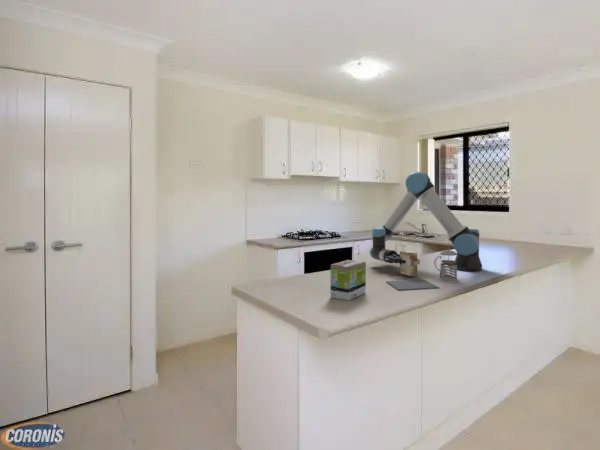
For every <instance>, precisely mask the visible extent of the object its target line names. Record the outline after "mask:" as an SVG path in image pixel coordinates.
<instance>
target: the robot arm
mask: <svg viewBox="0 0 600 450" xmlns="http://www.w3.org/2000/svg"><path fill="white" fill-rule="evenodd" d="M405 187H406V193H405V195H404V196H403V197H402V199H401V200H400V201H399V203H398V204H397V206H396V207H395V209H393V212H392V213H391V214H390V216H389V217H388V219H387V220H386V221H385V223H384V225H383V226H381V227H374V228H372V233H371V234H372V247H371V248H370V250H369V257H371V259H374V260H377V261H381V262H384V263H386V264H387V263H388V264H396V265H397V264H399V266H400V265H402V264H406V265H411V260H408V259H403V258H402V260H401V258H400V253H398V252H396V250H392V249H389V248H386V242H387V241H389V240H391V238H392V237H393V234H394V233H395V231H396V230H397V229H398V227H400V224H402V221H403V220H404V218H406V216H407V215H408V213H409V212H410V210H411V209H412V208H413V206H414V205H415V204H416V202H417V201H418V200H419V201H421V202H422V203H423V204H424V205H425V206H426V208H427V209H428V210H429V212H430V213H431V215H433V217H434V218H435V219H436V221H437V222H438V223H439V224H440V226H441V227H442V228H443V229H444V231H445V232H446V233H447V232H448V231H450V232H451V234H447V235H448V237H447V239H448V241H449V243H451V244H452V245H453V248H454V250H455V252H456V253H457V255H455V259H454V261H456V263H454V264H457V271H463V272H478V271H479V272H480V271H482V270H483V265H482V261H481V258H480V234H481V233H480V230H479V229H478V228H477V229H475V228H469V226H467V225H463V224H462V222H460V221H459V219H458V218H457V217H456V216H455V214H454V213H453V211H452V210H451V209H450V208H449V207H448V205H447V204H446V203H445V202H444V201H443V199H442V198H441V197H440V196H439V194H438V193H437V192H436V190H435V189H436V188H435V187H436V186H435V185H434V184H433V182H432V181H431V178H430V176H429V175H428V174H427V173H425V172H422V171H414V172H412V173H410V174H409V175H408V176H407V177H406V179H405ZM417 265H421V259H420V258H417Z"/></svg>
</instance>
